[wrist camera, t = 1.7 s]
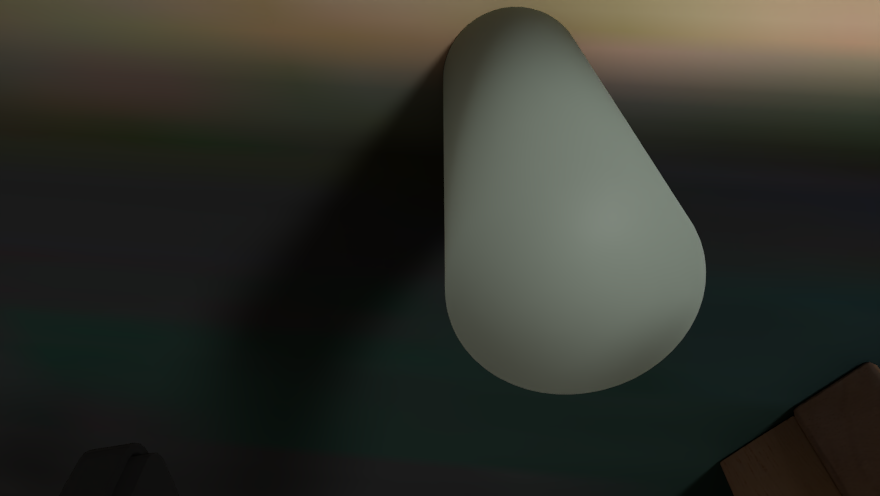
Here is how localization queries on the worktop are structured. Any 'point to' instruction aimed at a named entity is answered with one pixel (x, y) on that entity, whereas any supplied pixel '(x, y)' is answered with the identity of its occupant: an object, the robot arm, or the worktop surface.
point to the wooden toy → (818, 445)
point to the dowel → (556, 216)
